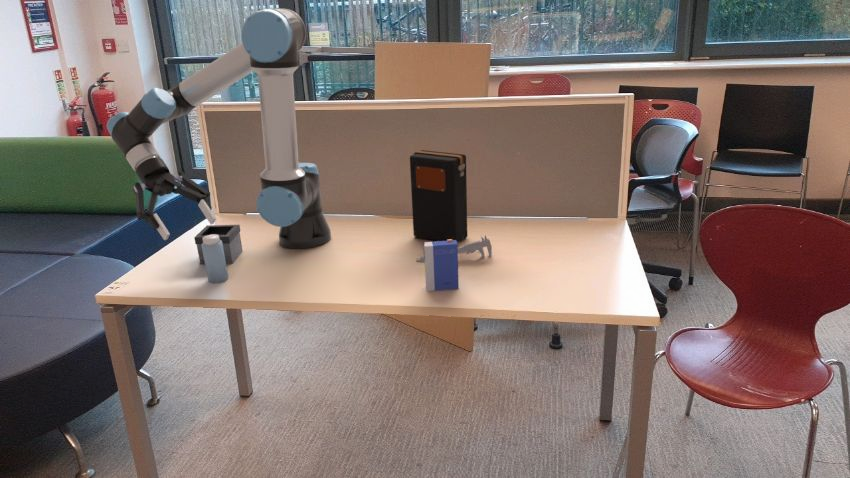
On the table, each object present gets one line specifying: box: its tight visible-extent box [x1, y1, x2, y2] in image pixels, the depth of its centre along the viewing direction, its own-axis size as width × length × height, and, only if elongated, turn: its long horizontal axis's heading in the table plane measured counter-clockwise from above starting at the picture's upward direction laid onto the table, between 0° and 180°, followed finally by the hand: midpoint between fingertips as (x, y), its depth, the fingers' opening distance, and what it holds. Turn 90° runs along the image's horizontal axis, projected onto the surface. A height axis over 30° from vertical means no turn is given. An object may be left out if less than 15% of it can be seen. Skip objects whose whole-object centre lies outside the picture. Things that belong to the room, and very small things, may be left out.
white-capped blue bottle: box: [202, 234, 229, 284], centre depth 161 cm, size 5×5×12 cm
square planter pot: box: [193, 224, 243, 265], centre depth 175 cm, size 9×9×8 cm
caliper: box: [415, 234, 492, 263], centre depth 169 cm, size 20×1×6 cm, turn 94°
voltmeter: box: [409, 149, 468, 243], centre depth 180 cm, size 16×9×25 cm, turn 58°
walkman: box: [423, 239, 459, 292], centre depth 151 cm, size 8×3×12 cm, turn 95°
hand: (191, 229), depth 162 cm, fingers open, 13 cm apart
